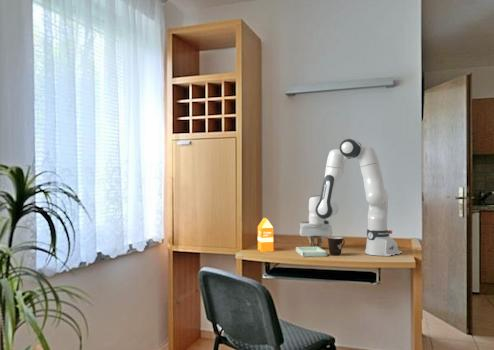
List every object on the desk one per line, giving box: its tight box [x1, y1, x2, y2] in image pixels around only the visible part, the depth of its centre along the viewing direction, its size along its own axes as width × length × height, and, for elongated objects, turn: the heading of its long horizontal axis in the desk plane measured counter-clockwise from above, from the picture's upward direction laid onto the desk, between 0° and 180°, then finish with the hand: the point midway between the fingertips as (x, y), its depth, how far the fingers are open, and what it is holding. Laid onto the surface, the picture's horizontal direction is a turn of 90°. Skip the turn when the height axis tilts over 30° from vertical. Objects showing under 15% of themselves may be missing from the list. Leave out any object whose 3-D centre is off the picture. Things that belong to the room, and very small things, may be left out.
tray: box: [295, 246, 328, 258], centre depth 251 cm, size 14×19×2 cm
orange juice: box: [257, 217, 274, 253], centre depth 262 cm, size 8×9×20 cm
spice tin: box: [310, 236, 322, 249], centre depth 267 cm, size 5×5×8 cm
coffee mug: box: [327, 236, 346, 257], centre depth 247 cm, size 12×9×10 cm
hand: (315, 243), depth 267 cm, fingers closed on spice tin, 5 cm apart
